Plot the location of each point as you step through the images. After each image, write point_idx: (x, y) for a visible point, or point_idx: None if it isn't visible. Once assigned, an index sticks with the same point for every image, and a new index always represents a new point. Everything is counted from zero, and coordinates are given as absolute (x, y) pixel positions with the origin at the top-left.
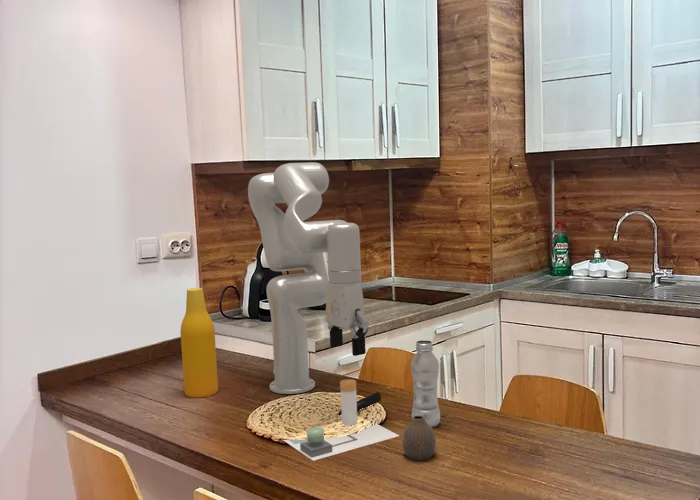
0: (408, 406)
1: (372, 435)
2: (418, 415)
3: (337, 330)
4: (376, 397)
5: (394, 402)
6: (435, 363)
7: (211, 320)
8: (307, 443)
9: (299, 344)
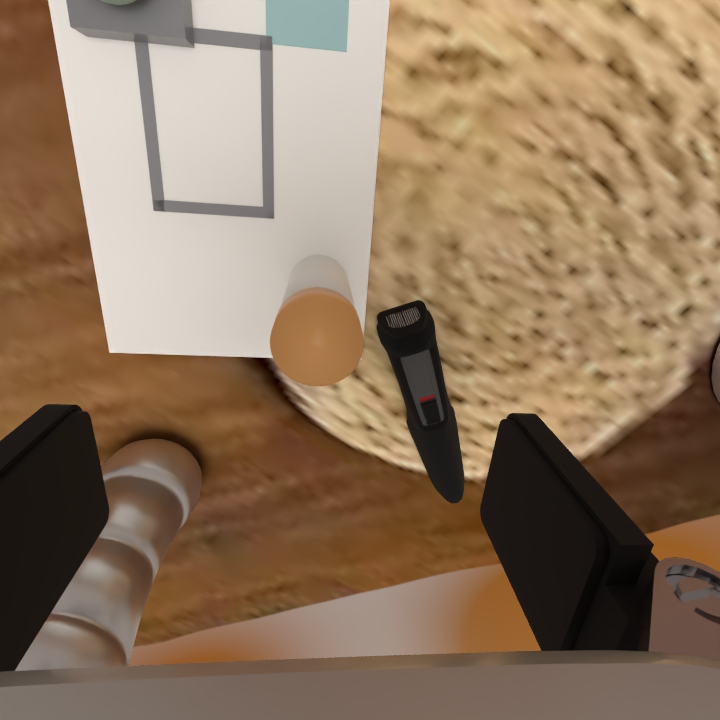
0: (344, 516)
1: (165, 281)
2: None
3: (569, 619)
4: (435, 477)
5: (402, 506)
6: None
7: None
8: None
9: None
